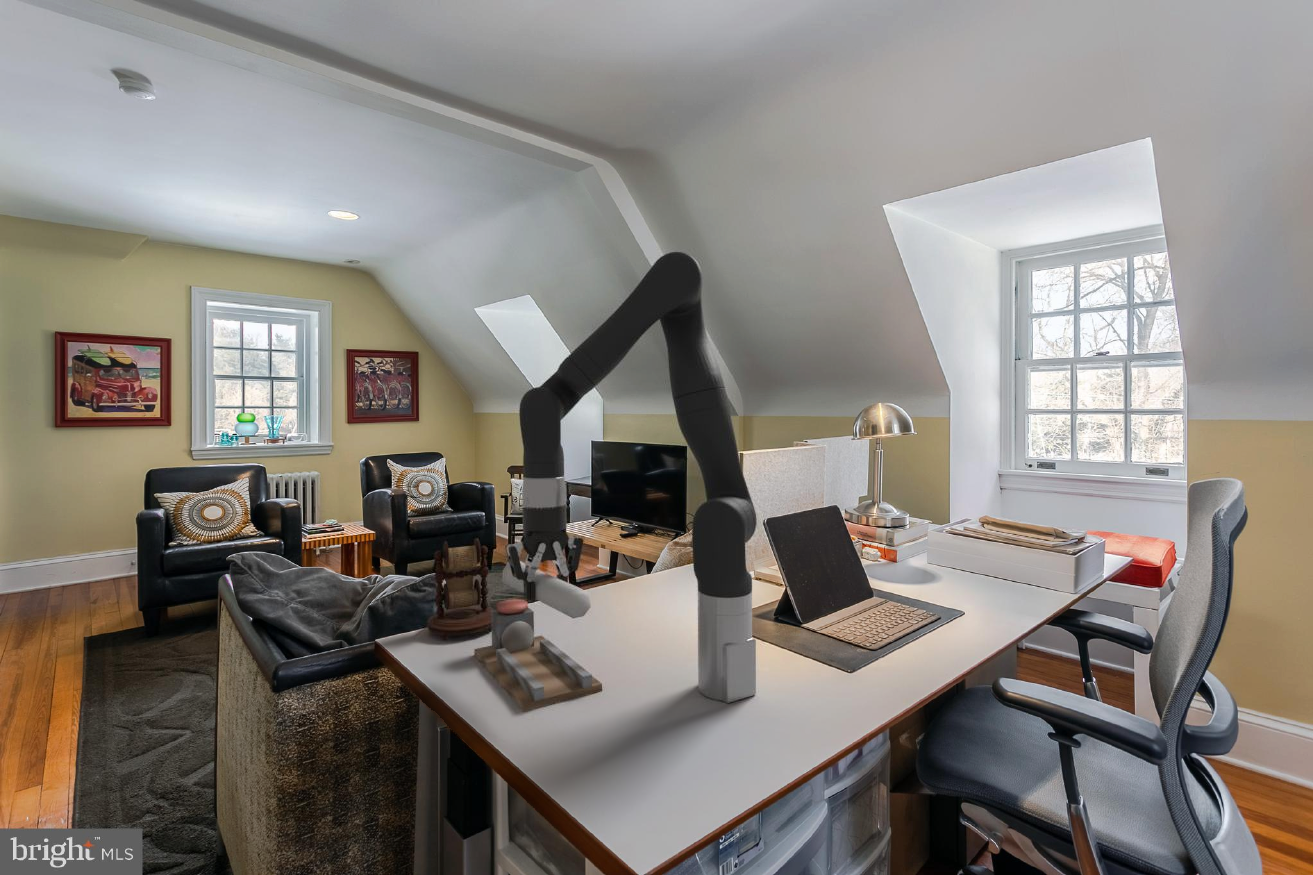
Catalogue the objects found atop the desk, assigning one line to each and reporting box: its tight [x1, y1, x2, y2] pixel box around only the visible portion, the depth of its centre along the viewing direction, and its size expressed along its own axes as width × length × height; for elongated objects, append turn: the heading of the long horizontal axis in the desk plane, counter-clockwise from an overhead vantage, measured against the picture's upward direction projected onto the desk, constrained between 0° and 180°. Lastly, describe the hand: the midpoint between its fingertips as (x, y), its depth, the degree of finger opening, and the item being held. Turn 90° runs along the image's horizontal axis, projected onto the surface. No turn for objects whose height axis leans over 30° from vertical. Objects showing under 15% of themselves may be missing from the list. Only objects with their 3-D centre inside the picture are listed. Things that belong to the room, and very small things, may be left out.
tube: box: [502, 560, 592, 619], centre depth 112 cm, size 5×5×25 cm
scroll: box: [426, 537, 492, 642], centre depth 141 cm, size 15×15×20 cm
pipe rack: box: [473, 598, 603, 712], centre depth 118 cm, size 28×14×10 cm, turn 32°
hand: (546, 598), depth 112 cm, fingers closed on tube, 5 cm apart
